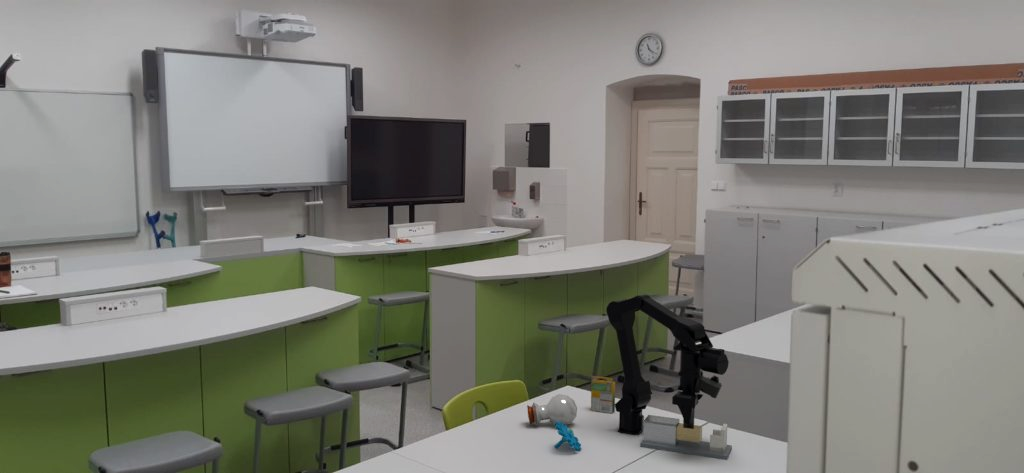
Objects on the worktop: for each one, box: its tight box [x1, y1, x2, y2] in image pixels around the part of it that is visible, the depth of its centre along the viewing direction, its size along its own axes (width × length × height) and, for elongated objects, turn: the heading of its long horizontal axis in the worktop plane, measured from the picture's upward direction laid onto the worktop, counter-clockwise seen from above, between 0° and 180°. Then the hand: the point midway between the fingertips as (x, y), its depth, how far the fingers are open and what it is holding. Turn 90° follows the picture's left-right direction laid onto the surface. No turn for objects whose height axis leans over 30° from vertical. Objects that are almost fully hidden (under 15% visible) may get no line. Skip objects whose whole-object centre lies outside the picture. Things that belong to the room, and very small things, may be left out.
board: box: [639, 438, 733, 461], centre depth 223 cm, size 24×9×1 cm, turn 67°
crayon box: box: [590, 375, 616, 415], centre depth 256 cm, size 7×3×12 cm, turn 66°
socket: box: [709, 423, 728, 453], centre depth 220 cm, size 4×6×6 cm, turn 157°
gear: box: [554, 421, 582, 452], centre depth 222 cm, size 11×6×10 cm
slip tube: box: [676, 408, 703, 443], centre depth 224 cm, size 14×4×9 cm, turn 67°
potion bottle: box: [526, 393, 578, 426], centre depth 242 cm, size 9×10×15 cm
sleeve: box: [643, 414, 681, 446], centre depth 226 cm, size 9×5×6 cm, turn 67°
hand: (688, 422), depth 223 cm, fingers closed on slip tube, 3 cm apart
